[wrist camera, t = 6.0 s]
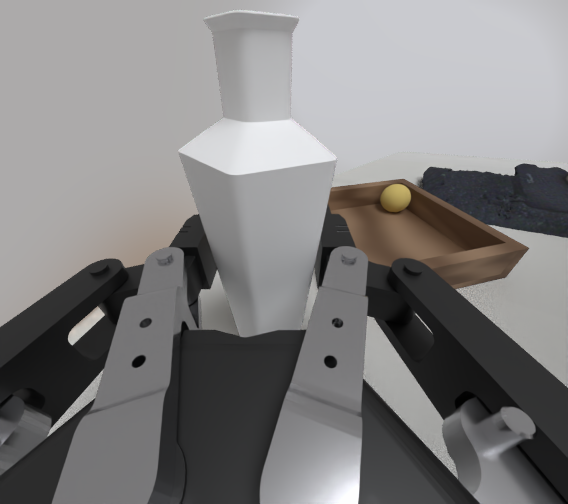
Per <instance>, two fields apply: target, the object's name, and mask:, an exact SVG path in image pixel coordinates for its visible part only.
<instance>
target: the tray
mask: <svg viewBox="0 0 568 504" xmlns="http://www.w3.org/2000/svg"><path fill="white" fill-rule="evenodd" d="M393 184H401V185H404V186H406V187H407V188H408V189H409V191H410V193H411V200H410V203H409V204H408V206H407V207H406V208H405V209H403V210H402V211H399V212H390V211H387V210H386V209H384V208H383V206H382V205H381V201H380V198H381V194H382V192H383V191H384V190H385V189H386V188H387V187H388V186H390V185H393ZM328 205H329V208H330V211H331V214H340V215H341V216H342V217H343V218H344V219H345V220H346V223H347V225H348V228H349V230H350V233H351V235H352V238H353V241H354V243H355V246H356V248H357V249H359V250H361V251H363V252H364V253H365V254H366V255H367V257H368V261H370V262H373V263H376V264H381V265H386V266H390V267H391V265H392V263H393V261H395V260H396V259H399V258H411V259H415V260H418V261H420V262H423V263H424V264H426V265H427V266H429V267H430V268H431V269H432V270H433V271H434V272H436V273H437V274H438V275H439V276H440V277H441V278H442V279H444V280H445V281H446V282H447V283H448V284H449V285H450V286H452V287H453V288H454V289H457V288H462V287H466V286H470V285H474V284H479V283H483V282H487V281H492V280H496V279H500V278H504V277H506V276H507V275H508V274H509V273H510V271H511V270H512V269H513V268H514V266H515V265H516V264H517V263H518V262H519V260H520V259H521V258H522V257H523V255H524V254H525V253H526V252H527V250H528V249H529V248H528V247H526V246H524V245H523V244H521V243H519V242H517V241H515V240H514V239H512V238H510V237H508V236H506V235H504V234H503V233H501V232H499V231H497V230H495V229H494V228H492V227H490V226H488V225H486V224H485V223H483V222H481V221H479V220H477V219H475V218H474V217H472V216H470V215H468V214H466V213H465V212H463V211H461V210H459V209H457V208H456V207H454V206H452V205H450V204H448V203H446V202H445V201H443V200H441V199H439V198H437V197H436V196H434V195H432V194H430V193H428V192H427V191H425V190H423V189H421V188H419V187H418V186H416V185H414V184H412V183H410V182H408V181H407V180H405V179H398V180H390V181H381V182H373V183H365V184H357V185H348V186H340V187H332V188H331V190H330V195H329V200H328Z"/></svg>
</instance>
